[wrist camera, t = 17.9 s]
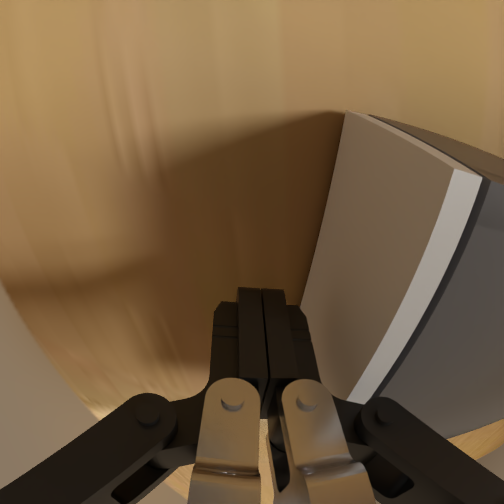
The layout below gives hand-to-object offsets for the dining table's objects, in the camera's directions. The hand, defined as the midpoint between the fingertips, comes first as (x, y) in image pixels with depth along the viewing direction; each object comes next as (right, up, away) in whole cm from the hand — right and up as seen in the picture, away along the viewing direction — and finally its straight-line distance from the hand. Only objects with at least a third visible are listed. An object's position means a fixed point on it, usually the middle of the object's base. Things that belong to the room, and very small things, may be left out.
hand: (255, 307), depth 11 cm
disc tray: (+9, +1, +3) cm, 10 cm away
